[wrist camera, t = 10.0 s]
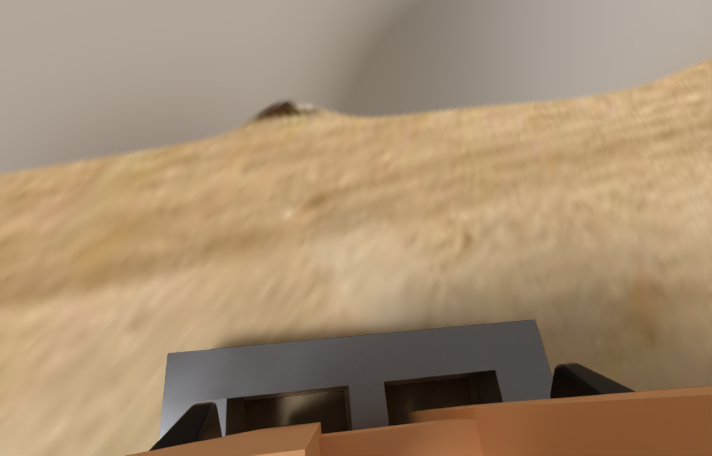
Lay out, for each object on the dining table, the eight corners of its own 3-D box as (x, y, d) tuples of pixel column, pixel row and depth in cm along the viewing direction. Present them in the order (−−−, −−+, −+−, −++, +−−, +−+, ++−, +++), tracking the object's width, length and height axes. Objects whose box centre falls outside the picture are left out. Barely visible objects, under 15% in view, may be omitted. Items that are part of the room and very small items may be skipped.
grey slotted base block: (501, 334, 17) (534, 319, 14) (553, 534, 14) (608, 562, 11) (194, 363, 16) (167, 353, 13) (177, 594, 13) (138, 643, 10)
